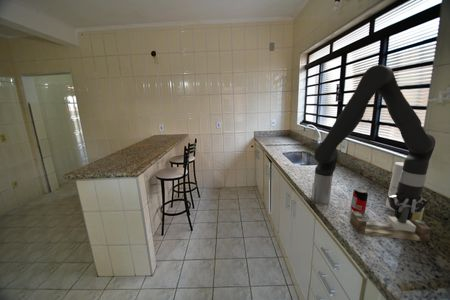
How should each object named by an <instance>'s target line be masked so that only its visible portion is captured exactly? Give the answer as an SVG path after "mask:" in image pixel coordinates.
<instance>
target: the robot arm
mask: <svg viewBox="0 0 450 300" xmlns="http://www.w3.org/2000/svg"><path fill="white" fill-rule="evenodd" d="M377 92H378V94H379V96H381V98H382V100H383V101H384V103H385V106H386V109H387V111H388V114H389V116H390V118H391V119H392V122H393V123H394V125H395V126H396V128H397V129H398V131H399V133H400V135H401V138H402V140H403V142H404V144H405V146H406V147H407V149H408V152H407V156H406V157H405V159H404V162H403V163H404V164H403V169H402V172H401V174H400V178H399V183H398V187H397V193H396V194H395V195H393V196H390V195H388V194H387V196H386V197H388V200H389V203H390V206H391V207H392V208H393V209H394V210H395V211H394V210H393V211H394V213H393V215H394V216H393V217H396V218H397V219H400V217H401V213H402V212H401V211H402V209H403V208H404V207H405V206H408V207H409V208H410V210H409V214H408V218H407V220H410V219H412V216H413V213H414V212H420V211H421V210H422V209H423V208H424V209H425V207H426V205H428V204H429V201H428V200H426V199H425V198H423V197H421V196H422V195H423V191H424V188H425V184H426V182H427V180H426V179H427V173H428V169H429V165H430V160H431V158H432V155H433V152H434V150H435V146H436V139H435V137H434V136H433V135H431V134H429V133H426V131H425V129H424V128H423V126H422V121H421V119H420V118H419V116H418V114H417V113H416V111H415V109H413V108H412V105H410V102H409V101H408V100H407V99H406V97H405V96H404V94H403V93H402V92H403V91H401V89H400V85H399V84H398V81H397V79H396V75H395V73H394V71H393V69H392V68H390V66H386V65H383V64H376V65H373V66H371V67H369V68H368V69H367V70H365V72H364V73H363V75H362V76H361V79H360V81H359V83H358V85H357V87H356V89H355V90H354V92H353V94H352V96H351V97H350V98H349V100H348V102H347V103H346V104H345V106H344V107H343V109H342V111H341V112H340V114H339V115H338V117H337V118H336V120H335V122H334V123H333V125H332V126H331V128H330V129H329V132H328V133H327V135H326V136H325V138H324V139H323V140H322V142H321V143H319V145H318V146H317V148H316V149H315V151H314V154H313V156H314V160H315V161H316V162H317V163H318V164H317V165H316V166H315V168H314V169H315V170H314V178H313V183H312V185H311V186H312V188H311V196H310V197H311V199H312V203H316V204H319V205H328V204H330V200H331V194H332V193H331V192H332V185H333V178H334V172H335V170H336V167H337V162H338V154H339V153H338V150H337V148H338V146H340V144H341V143H342V142H343V141H344V140H345V139H347V137H349V136H350V135H351V134H352V133H353V132H354V131H355V130H356V128H357V126H358V125H359V124H360V122H361V121H362V119H363V118H364V115H365V113H366V109H367V106H368V104H369V102H370V101H371V99H372V98H373V97H374V96H375V94H376V93H377ZM396 198H397V202H396V204H395V201H396Z"/></svg>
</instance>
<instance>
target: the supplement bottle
mask: <svg viewBox="0 0 450 300" xmlns="http://www.w3.org/2000/svg"><path fill="white" fill-rule="evenodd" d="M424 212H425V207H424V208H423V209H422V210H421V211H420V212H414V213H413V216H412V217H414V218H418V219H419V220H421V221H422V219H423V215H424Z"/></svg>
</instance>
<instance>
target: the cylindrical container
mask: <svg viewBox="0 0 450 300" xmlns="http://www.w3.org/2000/svg"><path fill="white" fill-rule="evenodd" d="M403 164H404V162H402V161H401V162H399V161H396V162H394V166H393V170H392V173H391V174H392V175H391V180H390V184H389V189H388V193H387V196H388V195H390V196H393V195H395V194H396V193H397V187H398V183H399V178H400V174H401V172H402V169H403ZM387 196H386V197H387ZM396 202H397V198H396V201H395V204H396ZM385 208H387V209H389V210H391V211H394V212H395V210H394V209H393V208H392V207H391V206H390V203H389V200H388V197H387V198H386V203H385Z"/></svg>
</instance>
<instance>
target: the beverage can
mask: <svg viewBox="0 0 450 300" xmlns="http://www.w3.org/2000/svg"><path fill="white" fill-rule="evenodd" d="M368 198H369V194H368V190H367V189H365V188H361V187H356V188H355V189H354V190H353V192H352V198H351V203H350V209H351V211H357V212H359V213H360V214H363V213H365V212H366V208H367V204H368V203H367V202H368Z"/></svg>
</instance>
